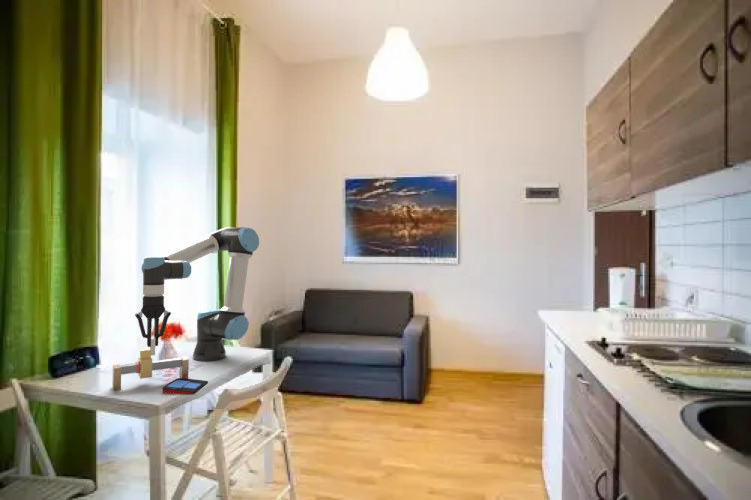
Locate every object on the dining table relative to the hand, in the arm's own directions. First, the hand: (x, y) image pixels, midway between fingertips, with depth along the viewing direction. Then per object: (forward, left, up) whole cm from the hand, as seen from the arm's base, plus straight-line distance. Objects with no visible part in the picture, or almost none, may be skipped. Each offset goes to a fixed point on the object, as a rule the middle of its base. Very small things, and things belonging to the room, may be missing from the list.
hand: (152, 354), depth 174 cm
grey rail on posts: (0, 0, -12) cm, 12 cm away
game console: (-10, +12, -12) cm, 20 cm away
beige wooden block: (+2, 0, -8) cm, 8 cm away
